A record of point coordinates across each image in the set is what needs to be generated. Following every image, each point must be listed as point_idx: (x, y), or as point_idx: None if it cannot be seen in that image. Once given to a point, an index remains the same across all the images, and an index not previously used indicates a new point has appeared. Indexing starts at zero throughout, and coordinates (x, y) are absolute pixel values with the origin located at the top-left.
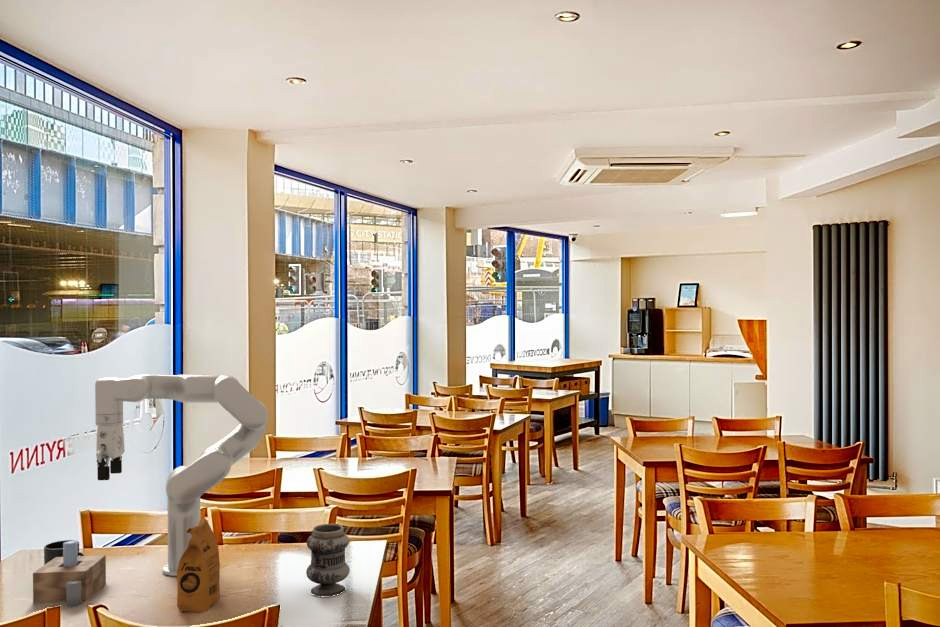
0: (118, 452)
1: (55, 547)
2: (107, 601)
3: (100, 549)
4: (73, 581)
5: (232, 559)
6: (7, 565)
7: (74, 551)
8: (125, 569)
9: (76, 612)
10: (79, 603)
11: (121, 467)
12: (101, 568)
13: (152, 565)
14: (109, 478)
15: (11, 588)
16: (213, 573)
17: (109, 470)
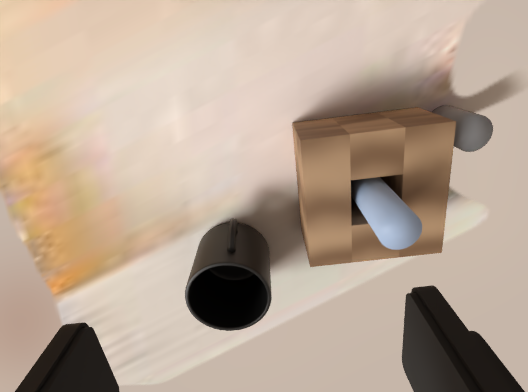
0: None
1: (209, 312)
2: (436, 44)
3: (49, 260)
4: (464, 139)
5: None
6: (187, 370)
7: (401, 201)
8: (188, 121)
9: (499, 87)
10: (451, 106)
11: (38, 370)
12: (329, 129)
13: (146, 56)
14: (423, 289)
15: (320, 298)
16: None
17: (471, 367)
